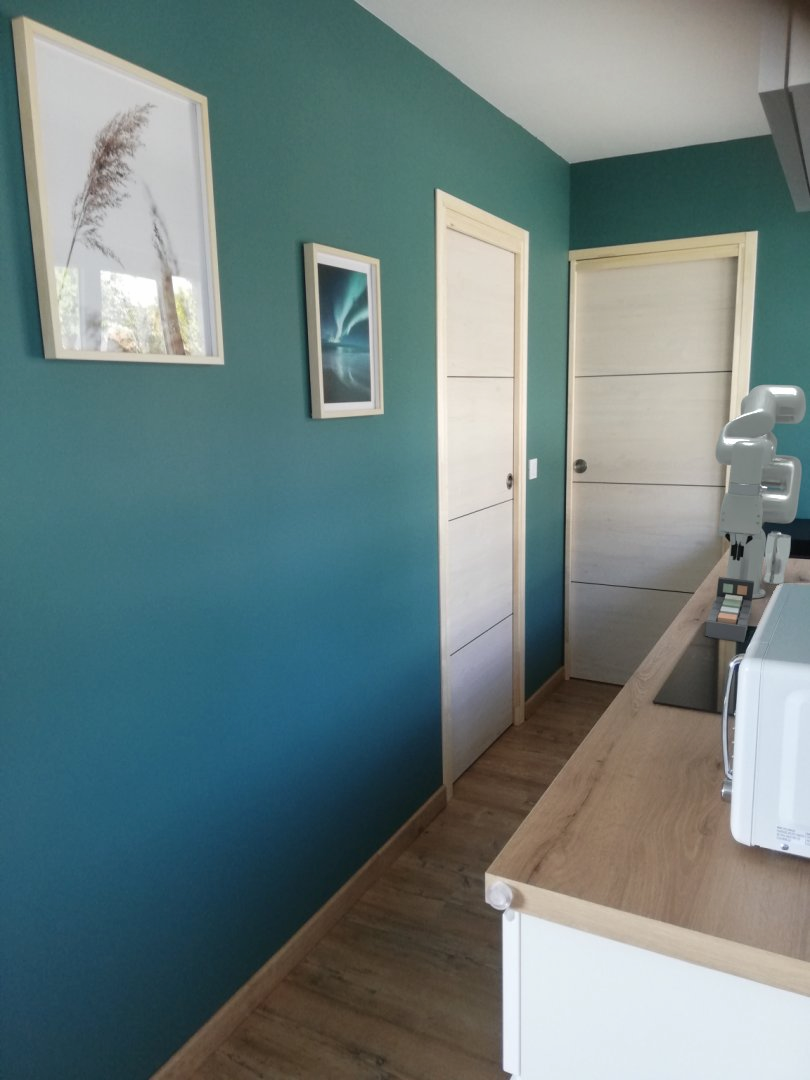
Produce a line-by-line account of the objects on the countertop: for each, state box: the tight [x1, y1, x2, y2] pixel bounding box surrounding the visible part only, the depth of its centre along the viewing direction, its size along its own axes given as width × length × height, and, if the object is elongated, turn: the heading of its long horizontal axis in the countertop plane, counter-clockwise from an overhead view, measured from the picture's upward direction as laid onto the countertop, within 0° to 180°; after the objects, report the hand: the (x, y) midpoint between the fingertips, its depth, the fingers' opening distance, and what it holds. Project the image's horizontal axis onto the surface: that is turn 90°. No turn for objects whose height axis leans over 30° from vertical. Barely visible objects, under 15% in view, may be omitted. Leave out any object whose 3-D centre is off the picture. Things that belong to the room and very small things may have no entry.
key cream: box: [724, 594, 743, 604], centre depth 217 cm, size 4×4×2 cm
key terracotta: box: [717, 613, 737, 624], centre depth 200 cm, size 4×4×2 cm
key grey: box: [720, 606, 739, 618], centre depth 206 cm, size 4×4×2 cm
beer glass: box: [762, 533, 792, 586], centre depth 250 cm, size 7×7×15 cm
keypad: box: [704, 576, 754, 643], centre depth 209 cm, size 27×9×9 cm, turn 154°
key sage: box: [722, 600, 741, 611], centre depth 211 cm, size 4×4×2 cm
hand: (736, 559), depth 208 cm, fingers closed
